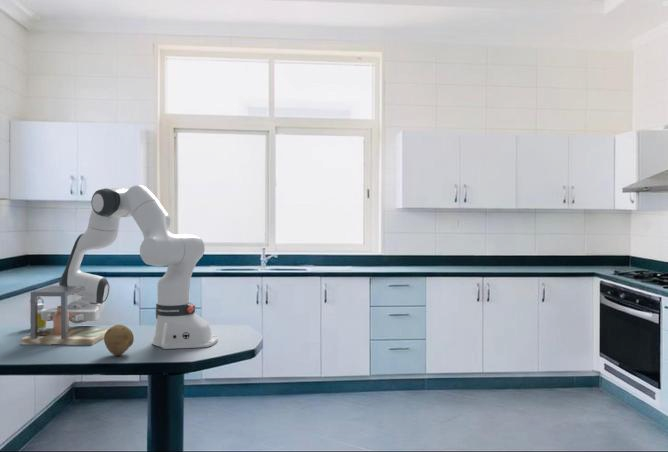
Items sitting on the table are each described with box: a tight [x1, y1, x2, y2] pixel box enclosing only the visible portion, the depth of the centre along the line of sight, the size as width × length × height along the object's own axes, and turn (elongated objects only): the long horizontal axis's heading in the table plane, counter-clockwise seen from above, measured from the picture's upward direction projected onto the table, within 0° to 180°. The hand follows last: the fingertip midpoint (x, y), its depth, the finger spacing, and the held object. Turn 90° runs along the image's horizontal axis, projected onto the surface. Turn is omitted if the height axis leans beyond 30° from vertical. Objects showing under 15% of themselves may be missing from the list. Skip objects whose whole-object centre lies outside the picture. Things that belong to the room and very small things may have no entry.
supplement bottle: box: [29, 302, 47, 331], centre depth 204 cm, size 5×5×10 cm
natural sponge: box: [103, 324, 135, 357], centre depth 169 cm, size 9×9×10 cm
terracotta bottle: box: [52, 305, 70, 335], centre depth 188 cm, size 5×5×10 cm
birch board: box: [20, 327, 109, 346], centre depth 188 cm, size 25×16×2 cm, turn 91°
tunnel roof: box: [30, 285, 85, 339], centre depth 188 cm, size 12×15×16 cm
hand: (60, 318), depth 188 cm, fingers open, 8 cm apart
